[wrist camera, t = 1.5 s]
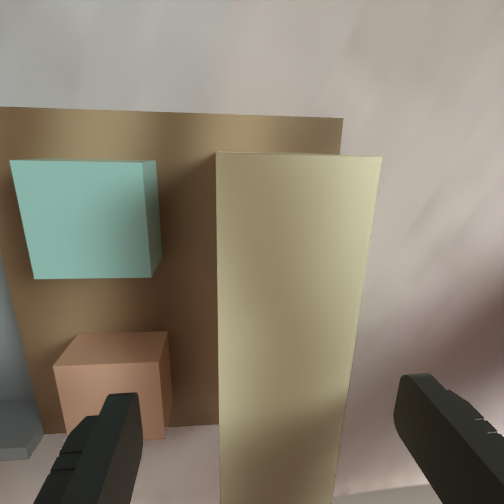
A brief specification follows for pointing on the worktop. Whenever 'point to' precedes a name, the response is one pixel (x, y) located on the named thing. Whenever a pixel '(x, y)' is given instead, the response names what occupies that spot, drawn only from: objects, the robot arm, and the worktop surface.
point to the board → (172, 237)
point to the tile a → (89, 217)
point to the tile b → (116, 377)
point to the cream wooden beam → (288, 316)
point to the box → (15, 386)
